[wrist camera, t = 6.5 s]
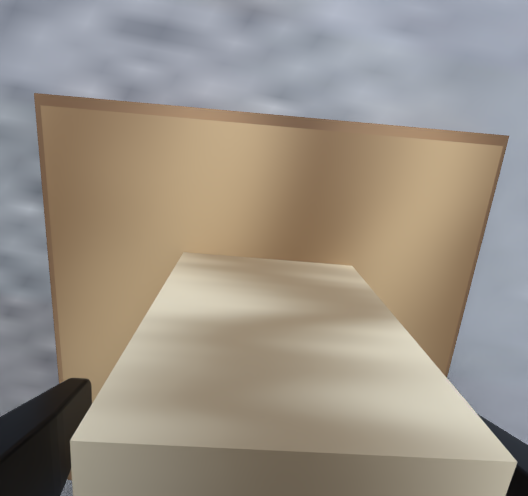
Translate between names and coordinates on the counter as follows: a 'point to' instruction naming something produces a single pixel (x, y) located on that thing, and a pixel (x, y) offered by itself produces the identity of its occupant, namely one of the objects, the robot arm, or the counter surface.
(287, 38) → the counter surface
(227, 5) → the counter surface
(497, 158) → the tan wooden panel
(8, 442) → the robot arm
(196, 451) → the beech block
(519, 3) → the counter surface
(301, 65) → the counter surface
